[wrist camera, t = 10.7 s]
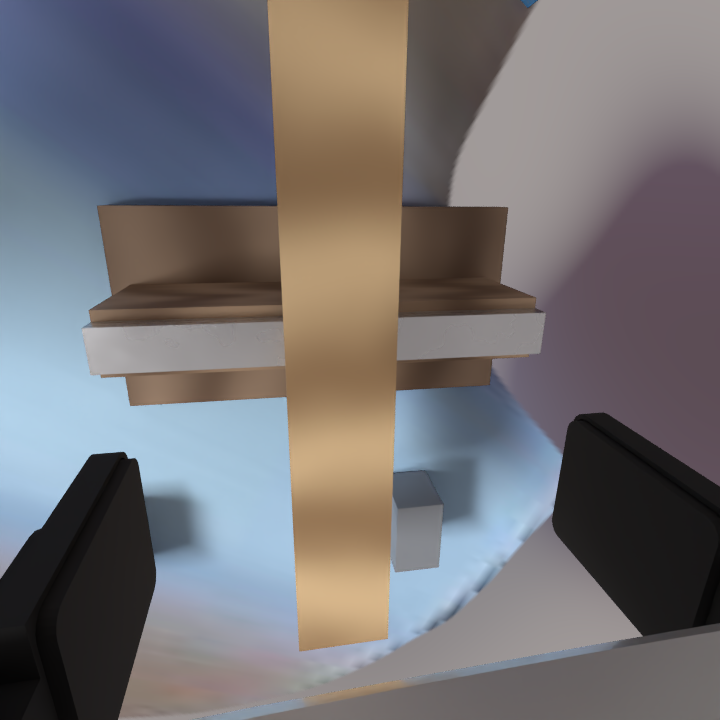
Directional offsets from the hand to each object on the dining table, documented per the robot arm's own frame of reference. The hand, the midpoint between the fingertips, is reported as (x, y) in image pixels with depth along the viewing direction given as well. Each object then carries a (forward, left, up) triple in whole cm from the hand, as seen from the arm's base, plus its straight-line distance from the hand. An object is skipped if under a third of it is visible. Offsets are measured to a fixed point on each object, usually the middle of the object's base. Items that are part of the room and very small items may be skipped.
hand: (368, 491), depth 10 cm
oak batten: (0, 0, -11) cm, 11 cm away
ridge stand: (0, 0, -20) cm, 20 cm away
